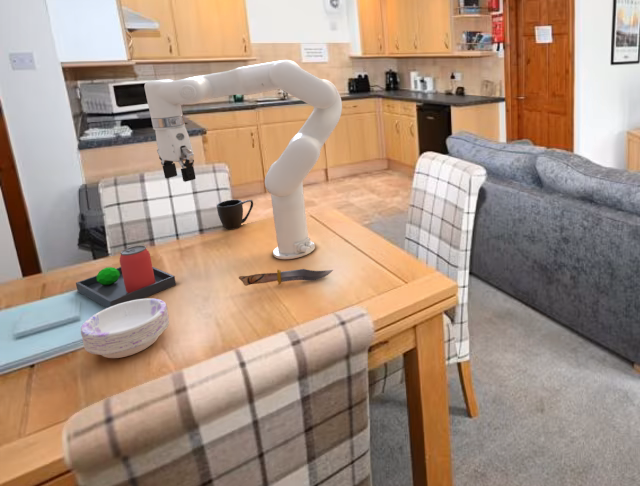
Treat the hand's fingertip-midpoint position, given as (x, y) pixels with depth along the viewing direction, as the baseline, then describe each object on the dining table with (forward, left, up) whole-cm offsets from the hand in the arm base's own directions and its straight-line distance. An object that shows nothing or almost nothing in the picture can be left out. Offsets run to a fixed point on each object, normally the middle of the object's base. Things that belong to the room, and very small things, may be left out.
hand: (180, 178), depth 138 cm
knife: (-36, -6, -29) cm, 47 cm away
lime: (+10, +18, -28) cm, 35 cm away
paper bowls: (-28, +29, -29) cm, 49 cm away
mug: (+22, -26, -29) cm, 45 cm away
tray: (+4, +17, -29) cm, 33 cm away
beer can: (-2, +15, -28) cm, 32 cm away
